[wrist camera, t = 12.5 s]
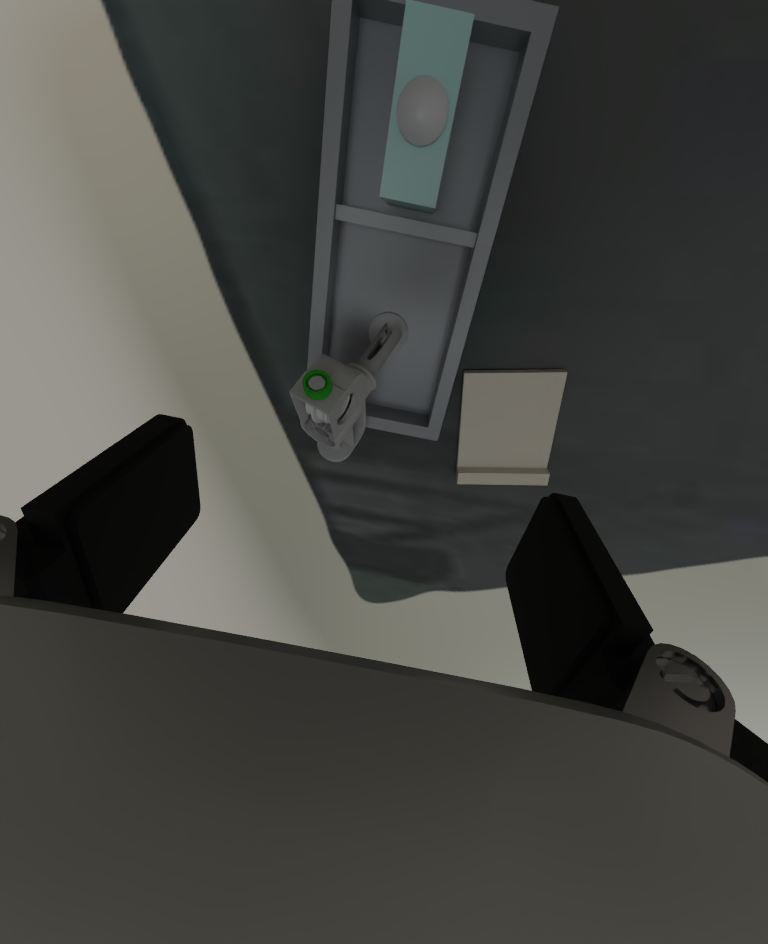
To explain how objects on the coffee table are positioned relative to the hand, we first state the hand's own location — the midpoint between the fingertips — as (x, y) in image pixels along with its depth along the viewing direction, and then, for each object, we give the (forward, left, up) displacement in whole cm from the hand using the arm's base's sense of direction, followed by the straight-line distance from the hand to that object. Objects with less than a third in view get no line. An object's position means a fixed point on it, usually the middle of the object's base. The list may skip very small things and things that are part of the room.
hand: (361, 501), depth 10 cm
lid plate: (+6, +11, -23) cm, 26 cm away
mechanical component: (0, 0, -22) cm, 22 cm away
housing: (-5, -1, -23) cm, 24 cm away
